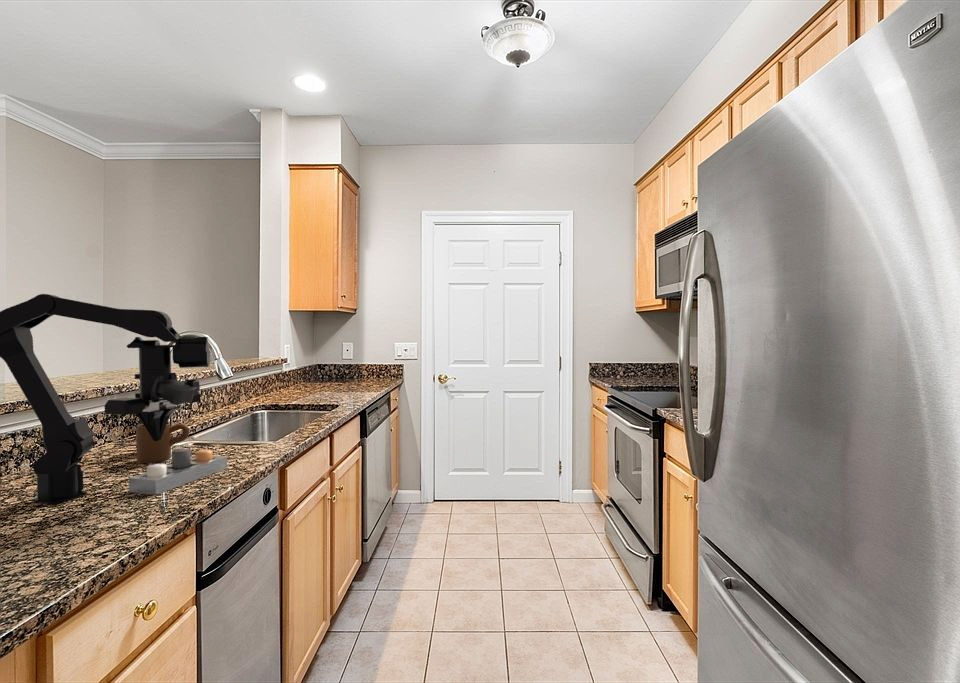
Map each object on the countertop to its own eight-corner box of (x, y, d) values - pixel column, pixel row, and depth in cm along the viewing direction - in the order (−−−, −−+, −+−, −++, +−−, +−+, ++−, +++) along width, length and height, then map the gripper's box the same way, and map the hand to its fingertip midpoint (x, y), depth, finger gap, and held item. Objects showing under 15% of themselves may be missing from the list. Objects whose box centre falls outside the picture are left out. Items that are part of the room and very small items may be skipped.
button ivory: (156, 489, 105) (156, 468, 104) (142, 488, 105) (142, 467, 105) (170, 484, 108) (170, 464, 108) (157, 483, 109) (157, 463, 109)
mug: (192, 453, 137) (191, 419, 136) (187, 460, 130) (186, 424, 129) (140, 457, 132) (140, 422, 132) (133, 465, 125) (132, 428, 125)
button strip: (155, 494, 102) (155, 480, 102) (129, 492, 104) (128, 478, 104) (227, 468, 122) (227, 456, 122) (203, 466, 124) (203, 454, 123)
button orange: (204, 472, 117) (204, 453, 117) (192, 471, 118) (191, 452, 118) (216, 468, 121) (215, 450, 120) (203, 467, 121) (203, 449, 121)
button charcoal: (181, 472, 111) (181, 453, 111) (168, 471, 112) (168, 452, 112) (194, 468, 114) (194, 449, 114) (181, 467, 115) (181, 448, 115)
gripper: (146, 373, 95) (148, 453, 95) (219, 366, 113) (221, 433, 114) (101, 372, 98) (103, 450, 98) (179, 365, 116) (181, 431, 116)
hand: (157, 440), depth 107 cm, fingers closed
